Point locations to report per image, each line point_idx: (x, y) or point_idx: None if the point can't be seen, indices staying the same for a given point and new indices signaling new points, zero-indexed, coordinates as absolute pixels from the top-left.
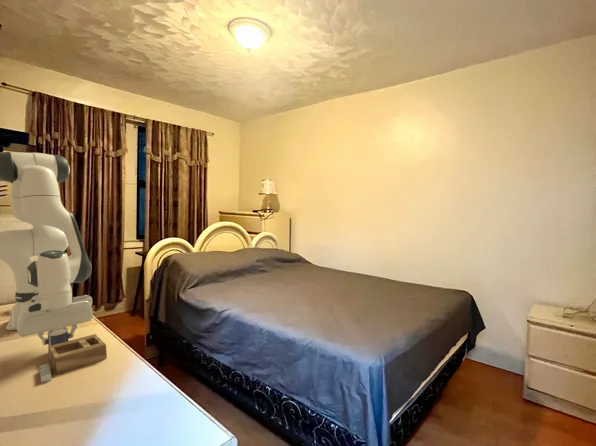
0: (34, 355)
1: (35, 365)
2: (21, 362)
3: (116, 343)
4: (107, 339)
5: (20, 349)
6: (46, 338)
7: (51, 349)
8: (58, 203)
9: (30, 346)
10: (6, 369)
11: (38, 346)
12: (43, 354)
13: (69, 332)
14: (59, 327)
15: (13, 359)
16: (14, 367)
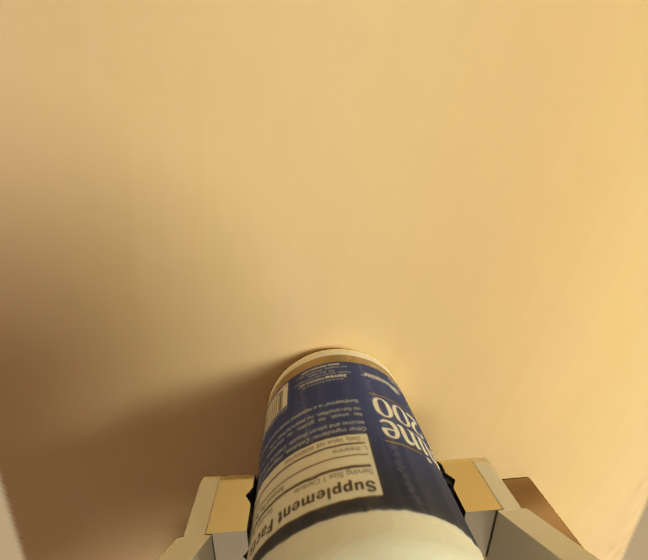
0: (170, 350)
1: (179, 519)
2: (87, 421)
3: (626, 501)
4: (643, 404)
5: (24, 60)
6: (232, 550)
7: None
8: None
9: (124, 44)
10: (3, 473)
11: (203, 127)
12: (232, 377)
13: (486, 522)
14: None
15: (11, 318)
16: (52, 473)
